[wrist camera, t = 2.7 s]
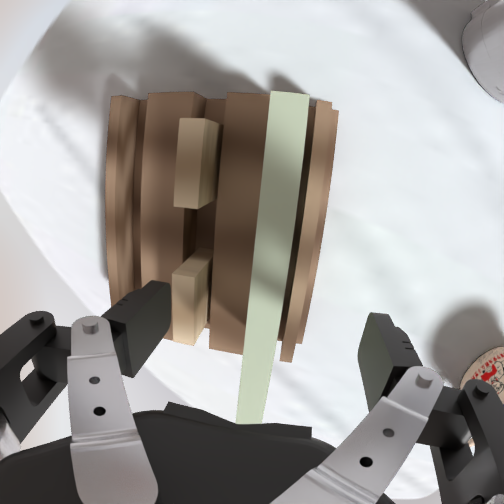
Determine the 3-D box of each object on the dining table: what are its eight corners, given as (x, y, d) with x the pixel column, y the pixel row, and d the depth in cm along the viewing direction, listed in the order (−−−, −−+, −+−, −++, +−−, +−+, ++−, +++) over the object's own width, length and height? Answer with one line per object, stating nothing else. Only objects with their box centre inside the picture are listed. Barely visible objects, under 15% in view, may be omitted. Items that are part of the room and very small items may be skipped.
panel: (288, 129, 22) (270, 90, 9) (304, 131, 22) (309, 94, 8) (265, 319, 27) (232, 447, 14) (278, 321, 27) (255, 451, 14)
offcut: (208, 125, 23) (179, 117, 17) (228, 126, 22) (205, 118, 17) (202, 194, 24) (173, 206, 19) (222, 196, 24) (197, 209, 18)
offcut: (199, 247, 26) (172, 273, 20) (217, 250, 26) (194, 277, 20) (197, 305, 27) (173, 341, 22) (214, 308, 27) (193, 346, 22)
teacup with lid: (499, 330, 25) (549, 393, 14) (523, 361, 26) (563, 417, 15) (426, 401, 29) (452, 476, 18) (458, 422, 30) (482, 486, 19)
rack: (131, 103, 24) (103, 97, 20) (336, 113, 22) (344, 104, 18) (128, 302, 31) (106, 323, 26) (302, 335, 28) (301, 363, 24)
